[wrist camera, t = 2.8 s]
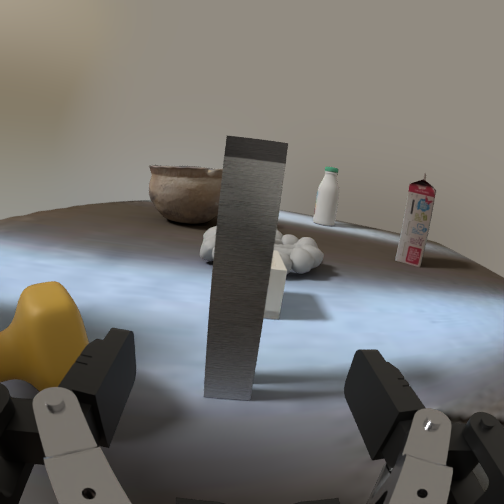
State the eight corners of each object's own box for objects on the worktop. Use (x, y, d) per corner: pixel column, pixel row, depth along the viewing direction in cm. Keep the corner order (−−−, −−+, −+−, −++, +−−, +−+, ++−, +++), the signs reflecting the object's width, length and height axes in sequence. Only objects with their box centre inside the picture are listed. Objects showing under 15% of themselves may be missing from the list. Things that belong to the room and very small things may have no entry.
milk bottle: (338, 226, 108) (347, 170, 103) (321, 226, 104) (330, 166, 99) (324, 222, 114) (333, 168, 109) (308, 221, 111) (316, 164, 105)
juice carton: (421, 261, 73) (437, 177, 68) (420, 267, 68) (438, 176, 62) (398, 255, 77) (413, 172, 71) (395, 260, 71) (411, 170, 65)
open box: (209, 313, 35) (213, 263, 34) (213, 286, 43) (217, 244, 42) (278, 319, 36) (287, 270, 35) (271, 292, 44) (277, 250, 42)
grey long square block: (203, 396, 22) (226, 135, 17) (206, 369, 25) (228, 140, 20) (249, 400, 22) (287, 143, 17) (248, 373, 26) (279, 146, 21)
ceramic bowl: (197, 235, 71) (204, 168, 67) (128, 219, 78) (132, 162, 74) (239, 223, 91) (245, 170, 87) (177, 211, 98) (181, 163, 94)
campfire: (261, 295, 42) (267, 253, 41) (174, 254, 56) (177, 221, 55) (338, 272, 58) (344, 242, 57) (257, 244, 72) (261, 219, 71)
